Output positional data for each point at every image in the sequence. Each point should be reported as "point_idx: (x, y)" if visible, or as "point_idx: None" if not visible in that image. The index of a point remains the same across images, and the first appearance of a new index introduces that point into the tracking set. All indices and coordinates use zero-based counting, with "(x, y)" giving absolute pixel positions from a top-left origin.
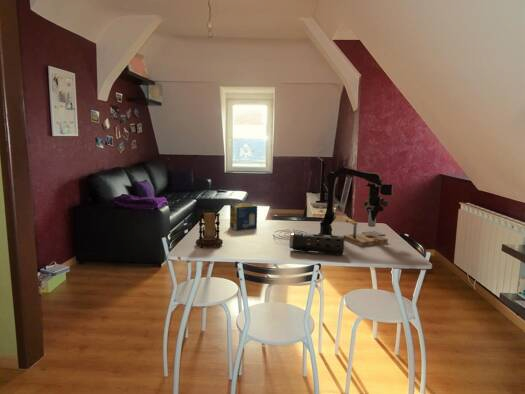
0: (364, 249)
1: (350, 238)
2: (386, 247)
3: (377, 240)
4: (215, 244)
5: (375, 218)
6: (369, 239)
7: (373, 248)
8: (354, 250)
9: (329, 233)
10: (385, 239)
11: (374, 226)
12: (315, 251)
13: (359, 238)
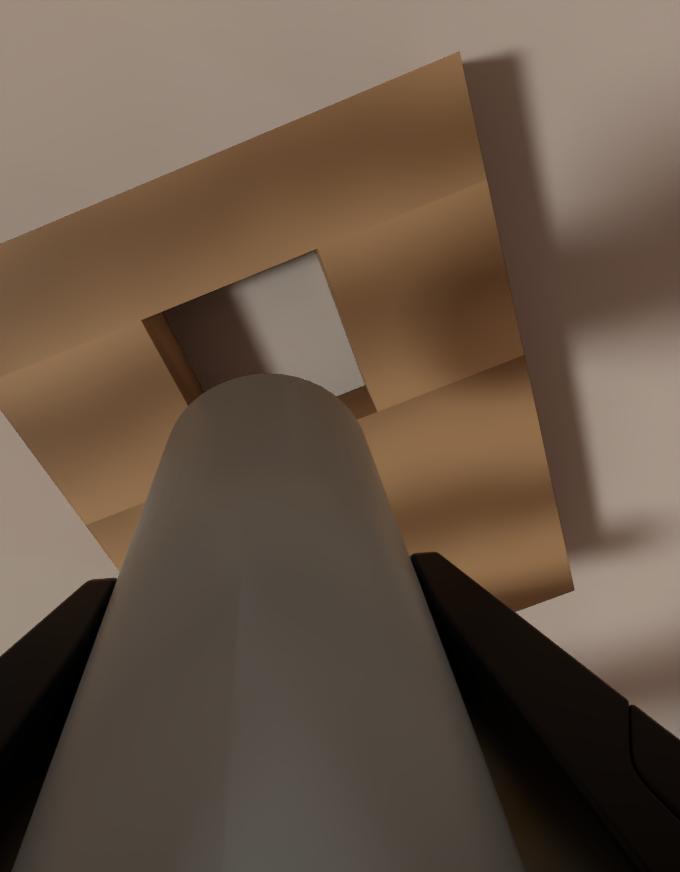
0: (663, 528)
1: None
2: (657, 205)
3: (515, 322)
4: None
5: (394, 563)
6: (454, 441)
7: (654, 418)
8: (668, 623)
9: None
10: (474, 126)
11: (354, 420)
12: None
13: None
